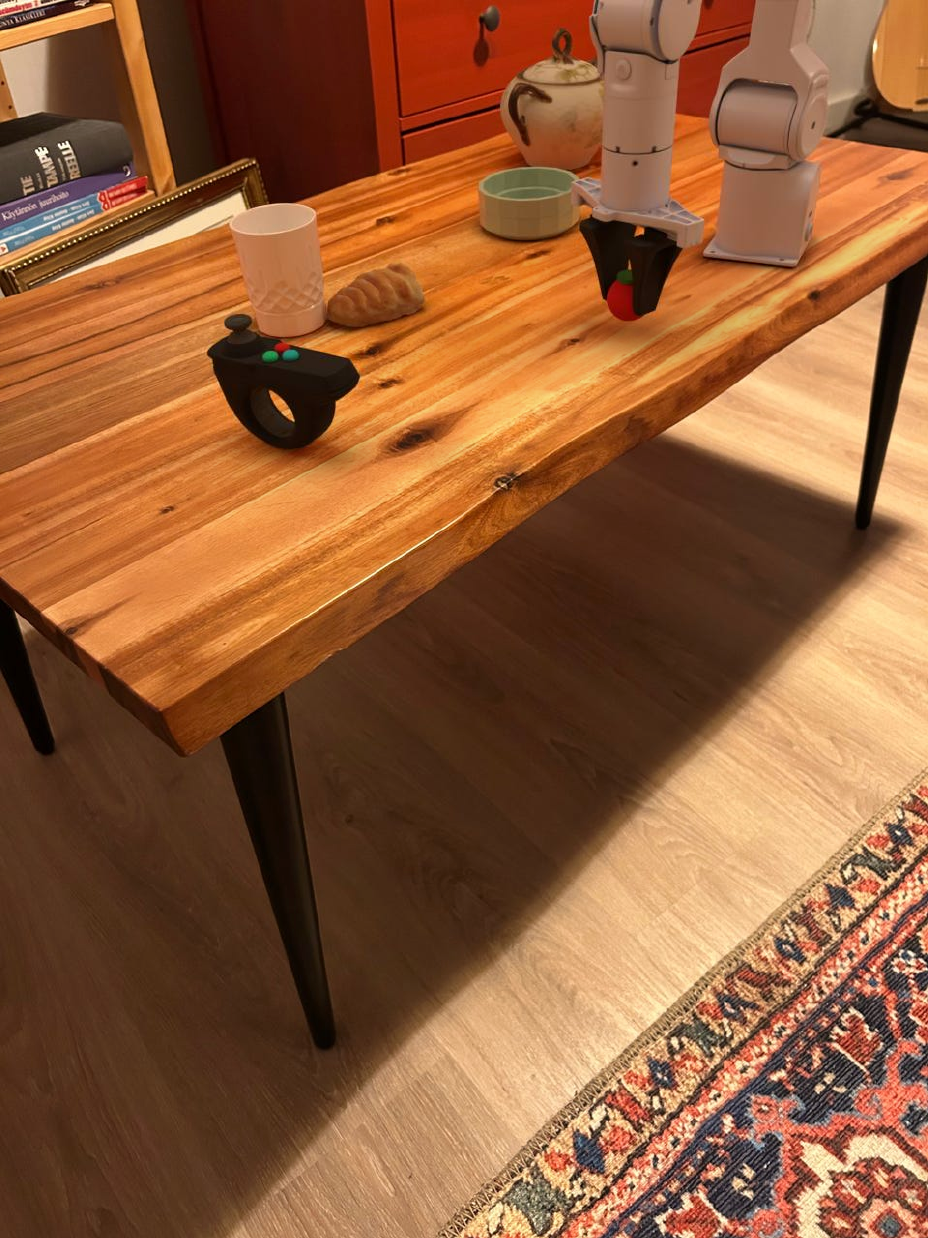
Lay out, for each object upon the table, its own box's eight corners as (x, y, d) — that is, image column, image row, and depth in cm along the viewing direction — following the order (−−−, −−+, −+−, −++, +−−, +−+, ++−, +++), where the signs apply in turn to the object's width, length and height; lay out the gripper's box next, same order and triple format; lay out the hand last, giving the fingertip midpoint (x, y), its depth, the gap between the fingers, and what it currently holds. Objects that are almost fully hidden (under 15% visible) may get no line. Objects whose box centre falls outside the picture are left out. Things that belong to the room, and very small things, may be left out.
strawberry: (655, 313, 89) (659, 268, 86) (642, 331, 86) (645, 286, 84) (614, 307, 91) (616, 263, 88) (600, 325, 88) (601, 280, 85)
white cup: (345, 309, 96) (330, 205, 89) (311, 344, 90) (292, 236, 84) (275, 302, 98) (255, 200, 92) (237, 336, 93) (213, 231, 86)
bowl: (592, 211, 112) (594, 171, 109) (557, 247, 105) (557, 204, 102) (504, 202, 116) (503, 163, 113) (464, 236, 109) (461, 194, 106)
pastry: (352, 339, 91) (346, 299, 88) (313, 318, 95) (307, 280, 92) (431, 308, 95) (427, 269, 92) (391, 289, 99) (387, 251, 97)
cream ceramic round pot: (559, 133, 136) (560, 8, 126) (649, 149, 128) (658, 18, 118) (467, 172, 125) (460, 40, 115) (559, 193, 117) (560, 53, 107)
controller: (253, 416, 81) (226, 301, 74) (377, 447, 76) (360, 327, 70) (220, 441, 78) (190, 324, 72) (346, 475, 73) (326, 353, 67)
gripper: (543, 135, 82) (544, 291, 91) (662, 175, 72) (650, 345, 81) (607, 117, 84) (602, 271, 93) (730, 154, 75) (711, 320, 84)
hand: (628, 304), depth 88 cm, fingers closed on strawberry, 4 cm apart
